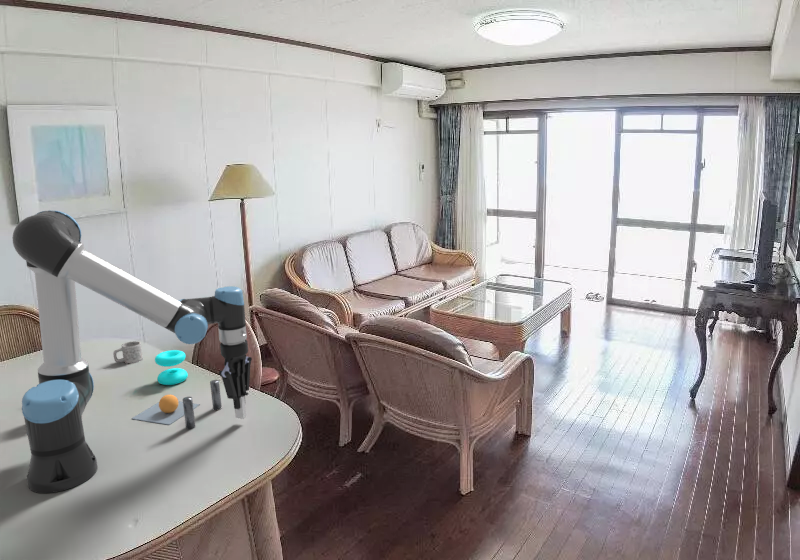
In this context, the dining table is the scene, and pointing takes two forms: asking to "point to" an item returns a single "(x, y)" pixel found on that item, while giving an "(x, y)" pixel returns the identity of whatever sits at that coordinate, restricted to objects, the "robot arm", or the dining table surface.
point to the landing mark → (162, 414)
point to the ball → (168, 403)
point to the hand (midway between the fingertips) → (240, 417)
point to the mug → (130, 352)
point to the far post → (215, 394)
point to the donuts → (172, 374)
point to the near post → (189, 412)
